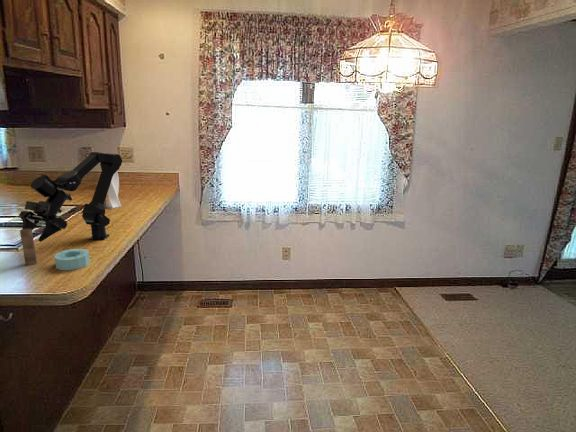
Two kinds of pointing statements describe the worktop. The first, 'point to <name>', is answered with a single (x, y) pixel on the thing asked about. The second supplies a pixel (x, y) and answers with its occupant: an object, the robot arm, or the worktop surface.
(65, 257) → the bead
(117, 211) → the worktop surface
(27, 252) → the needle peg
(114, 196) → the skyscraper
